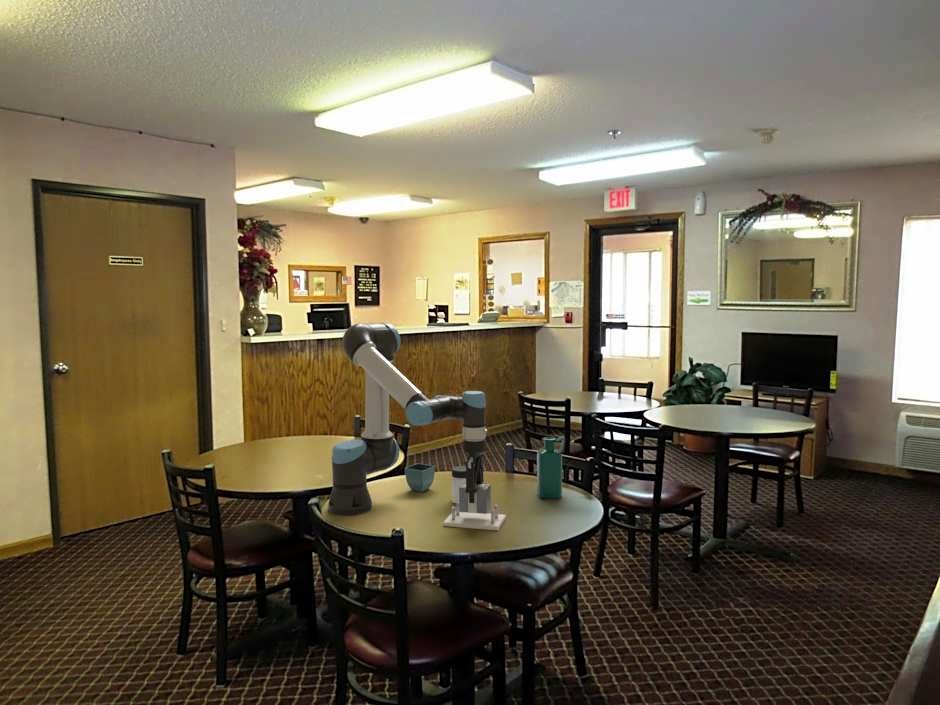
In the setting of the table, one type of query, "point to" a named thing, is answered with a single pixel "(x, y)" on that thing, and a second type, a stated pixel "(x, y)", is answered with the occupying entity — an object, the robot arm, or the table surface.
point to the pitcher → (550, 469)
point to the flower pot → (420, 476)
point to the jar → (457, 481)
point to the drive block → (482, 498)
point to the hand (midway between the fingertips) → (475, 508)
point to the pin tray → (475, 519)
